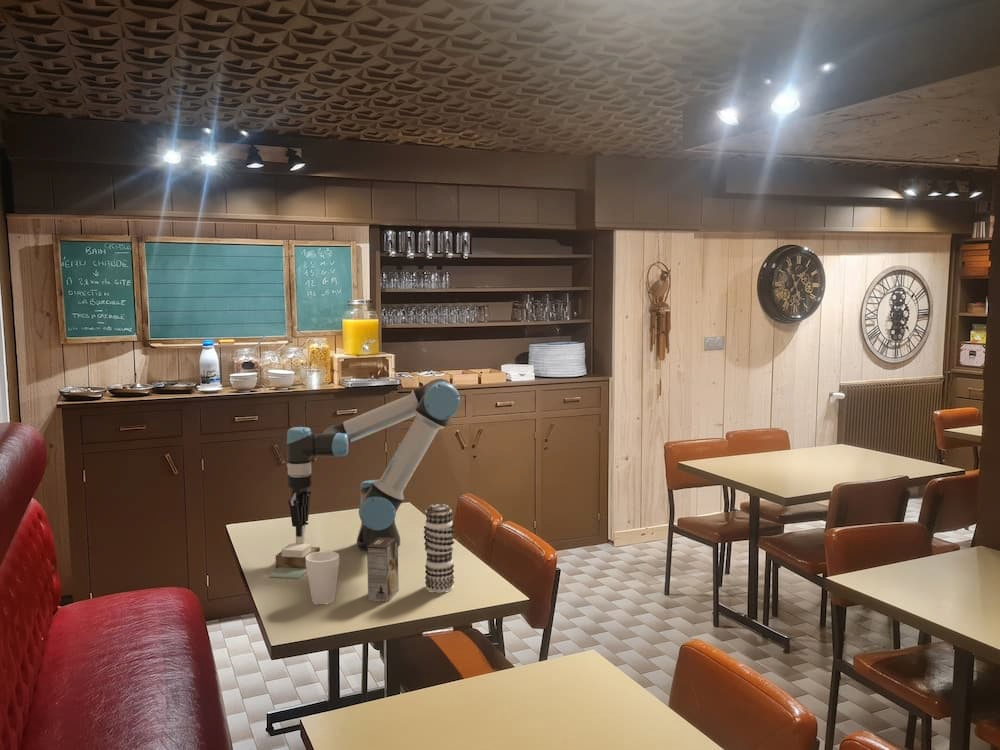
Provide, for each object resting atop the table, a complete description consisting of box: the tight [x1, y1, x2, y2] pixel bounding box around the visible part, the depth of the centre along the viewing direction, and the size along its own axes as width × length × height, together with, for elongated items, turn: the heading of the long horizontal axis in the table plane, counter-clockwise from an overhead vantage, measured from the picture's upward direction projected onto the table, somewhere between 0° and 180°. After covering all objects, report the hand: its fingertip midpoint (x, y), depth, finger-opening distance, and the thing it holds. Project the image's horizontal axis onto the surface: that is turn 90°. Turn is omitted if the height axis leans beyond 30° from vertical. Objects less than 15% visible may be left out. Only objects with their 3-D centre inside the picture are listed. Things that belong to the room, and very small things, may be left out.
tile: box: [281, 542, 312, 558], centre depth 249 cm, size 7×7×2 cm
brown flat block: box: [275, 546, 321, 569], centre depth 251 cm, size 11×10×4 cm
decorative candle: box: [423, 503, 456, 594], centre depth 229 cm, size 9×9×25 cm
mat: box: [268, 567, 307, 579], centre depth 242 cm, size 10×8×1 cm
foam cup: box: [306, 550, 340, 605], centre depth 220 cm, size 10×9×13 cm
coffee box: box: [366, 537, 400, 602], centre depth 223 cm, size 9×6×16 cm
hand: (300, 545), depth 253 cm, fingers closed
